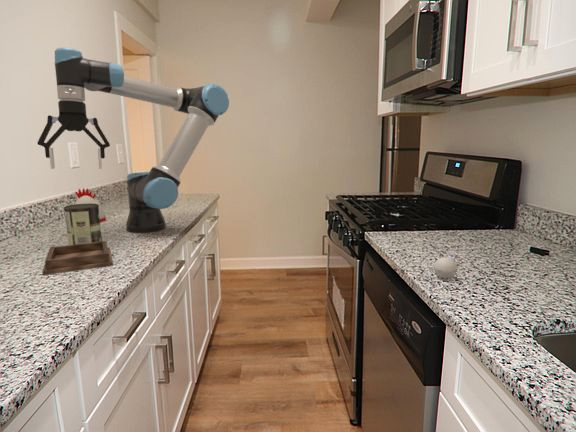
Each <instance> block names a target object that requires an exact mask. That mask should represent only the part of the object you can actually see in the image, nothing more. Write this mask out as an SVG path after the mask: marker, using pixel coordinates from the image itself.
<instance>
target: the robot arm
mask: <svg viewBox="0 0 576 432" xmlns="http://www.w3.org/2000/svg"><path fill="white" fill-rule="evenodd" d="M54 70H55V78H56V91H57V99H58V100H59V101H58V102H57V103H58V104H57V105H58V116H52V115H49V114H48V116H47V118H46V119H47V121H46V124H45V126H44V128H43V130H42V133H41V135H40V136H39V138H38V141H37V145H38V146H40V147H43V148H44V152H45V154H44V155H45V158H47V159H49V162H50V163H49V164H50V165H49V166H50V169H51V170H52V169H53V170H54V169H56V167H55V155H54V147H51V146H52V145H53V144H54V143H55V142H56V140H57V139H59V137H60V136H61V135H62V134H63V133H65V131H69V132H82V131H83V132H85V134H86V135H87V136H88V137H89V138H90V139H91V140H92V141H93V142H94V143H95V144H96V145H97V146H98V147H99V148H97V156H98V157H97V158H98V170H100V169H101V170H102V169H103V168H102V166H103V164H102V159H105V157H106V156H105V149H106V148H108V147H110V146H111V144H110V143H109V141H108V139H107V137H106V135H105V134H104V131H102V129H101V128H100V127H101V126H99V121H98V119H97V117H93V118H89V117H88V116H87V107H86V105H87V104H86V103H85V101H86V93H85V91H90V92H102V93H106V94H110V95H111V94H112V95H116V96H120V97H126V98H130V99H132V100H138V101H143V102H147V103H151V104H155V105H160V106H165V107H169V108H172V109H173V110H174V111H175V112H179V113H184V114H188V115H187V117H186V118H185V120H184V122H183V123H182V125H181V126H180V129H179V130H178V132H177V134H176V136H175V137H174V138H173V140H172V142H171V144H170V145H169V147H168V148H167V150H166V152H165V153H164V155H163V157H162V158H161V160H160V162H159V164H157V165H155V166H152V168H150V171H143V172H142V171H139V172H132V173H128V174H127V176H126V184H127V194H128V205H129V206H128V207H129V212H128V216H127V221H126V225H125V226H126V232H127V231H128V232H131V233H151V232H157V231H161V230H164V229H165V228H166V227H167V225H166V219H165V218H164V216H163V215H164V214H163V213H162V210H163V209H168V208H169V207H172V206H173V205H174V204H175V203H176V201H177V199H178V196H179V190H178V188H179V187H180V184H181V179H180V176H181V174H182V173H183V171H184V169H185V167H186V166H187V164H188V162H189V160H190V158H191V156H193V154H194V151H195V150H196V148H197V146H198V145H199V144H200V141H201V140H202V137H203V136H204V134H205V133H206V131H207V128H208V127H210V126H214V125H215V123H216V121H217V120H218V118H219V116H222V115H224V114H225V113H226V112H227V111H228V109H229V105H230V100H229V97H228V93H227V91H226V90H225V89H224V87H222V86H220V85H218V84H215V83H213V84H212V83H211V84H206V85H203V86H199V87H193V88H183V87H180V86H178V87H176V88H174V87H170V86H166V85H162V84H159V83H155V82H152V81H147V80H143V79H139V78H137V77H136V78H135V77H131V76H127V75H125V72H124V69H123V66H122V65H120V64H117V63H113V62H107V61H99V60H95V59H94V60H93V59H88V58H84V56H83V54H82V52H81V51H80V50H78V49H76V48H75V49H74V48H71V47H58V48H56V49H55V50H54ZM56 122H58V123H59V124H60V125H61V126H60V127H59V128H58V129H57V130H56V132H54V134H53V135H52V136H51V137H50V138H49V139H48V140H47V141H46V139H47V138H48V134H49V133H50V131H51V129H52V127H53V124H56ZM88 123H90V124H91V125H92V126H94V128H95V130H96V131H97V133H98V134H99V136H100V138H101V139H102V141H103V143H102V142H101V141H100V140H99V139H98V138H97V137H96V136H95V135H94V134H93V133H92V132H91V131H90V130H89V129H88V128H87V125H89V124H88ZM45 141H46V142H45Z"/></svg>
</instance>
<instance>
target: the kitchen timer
mask: <svg viewBox="0 0 576 432" xmlns="http://www.w3.org/2000/svg"><path fill="white" fill-rule="evenodd" d="M74 193H75V195H76V197H77V200H76V201H75V202H74V204H73V205H75V204H98V205H99V217H100V224H101V223H103V222H106V220H107V218H106V217H107V216H106V213H105V210H104V208H103V206H102V205H101V203H100V201H99V200H97V199H96V198H95V197H96V193H93V192H92V190H90V191H89V188H86V189H85V188H82V191H81V189H80V188H78V192H77V191H75V192H74ZM92 193H93V194H92Z"/></svg>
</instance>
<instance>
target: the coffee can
mask: <svg viewBox="0 0 576 432" xmlns="http://www.w3.org/2000/svg"><path fill="white" fill-rule="evenodd" d="M74 204H75V203H74ZM74 204H70V205H65V206H64V207H63V212H64V218H65V226H66V235H67V243H68V244H67V245H74V244H83V243H92V242H101V241H103V239H102V230H101V228H102V227H101V223H100V217H99V205H98V204H75V205H74Z"/></svg>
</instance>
